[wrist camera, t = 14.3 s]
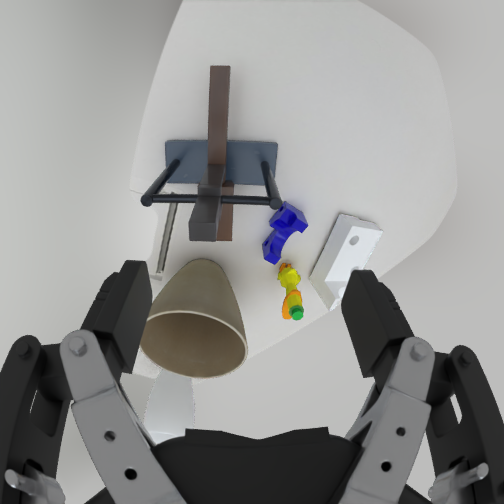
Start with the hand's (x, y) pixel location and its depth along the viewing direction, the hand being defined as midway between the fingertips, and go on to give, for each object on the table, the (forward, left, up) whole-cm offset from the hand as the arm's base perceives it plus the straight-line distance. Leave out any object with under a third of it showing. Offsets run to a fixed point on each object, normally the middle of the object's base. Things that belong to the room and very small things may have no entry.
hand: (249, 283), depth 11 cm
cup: (+47, -13, -30) cm, 57 cm away
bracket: (+17, +18, -30) cm, 39 cm away
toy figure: (+21, +8, -30) cm, 38 cm away
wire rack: (+3, -3, -30) cm, 30 cm away
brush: (+1, -3, -24) cm, 24 cm away
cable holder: (+13, +6, -30) cm, 33 cm away
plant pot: (+23, -6, -30) cm, 38 cm away
